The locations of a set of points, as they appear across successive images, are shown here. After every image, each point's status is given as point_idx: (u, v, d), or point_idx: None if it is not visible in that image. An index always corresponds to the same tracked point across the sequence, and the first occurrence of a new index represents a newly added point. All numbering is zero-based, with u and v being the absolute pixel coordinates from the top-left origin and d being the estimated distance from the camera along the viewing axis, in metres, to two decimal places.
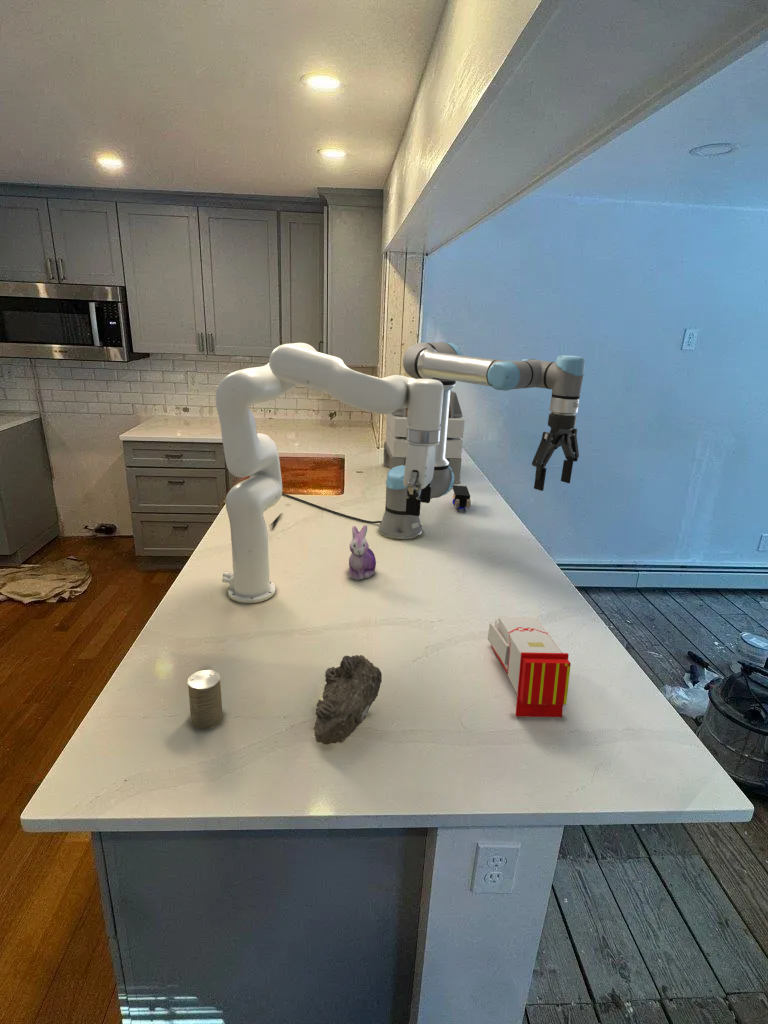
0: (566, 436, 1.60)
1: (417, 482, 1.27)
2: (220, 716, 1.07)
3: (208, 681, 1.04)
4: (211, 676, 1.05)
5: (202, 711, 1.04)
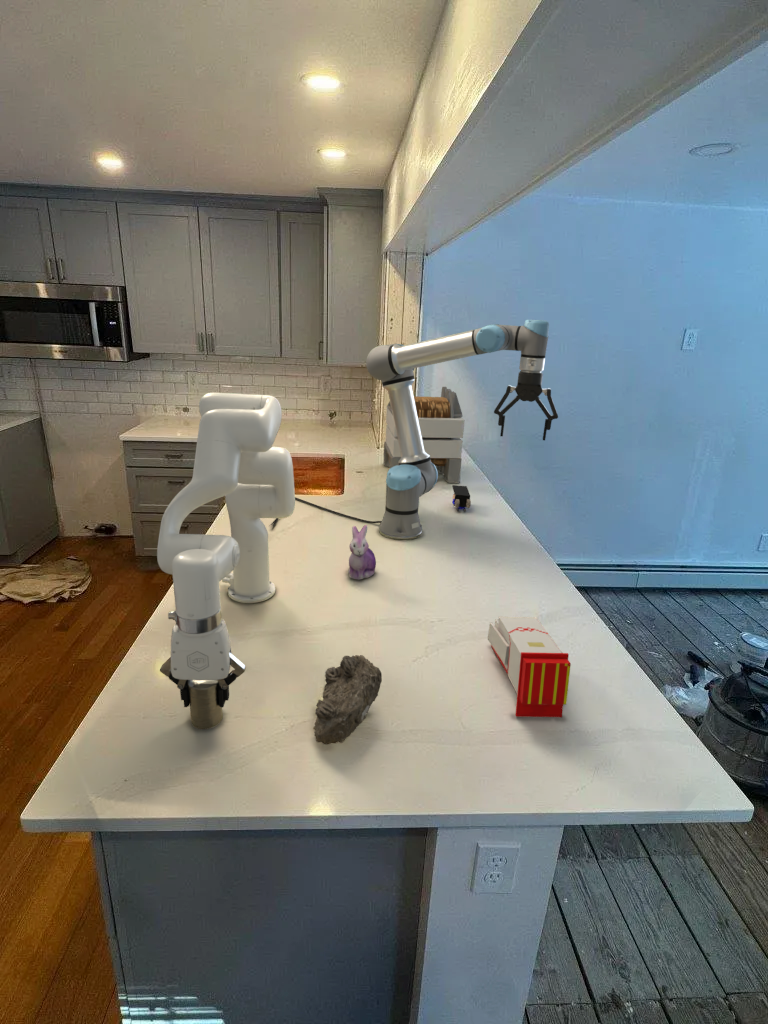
0: (530, 392, 1.79)
1: None
2: (220, 716, 1.07)
3: (208, 681, 1.04)
4: None
5: (202, 711, 1.04)
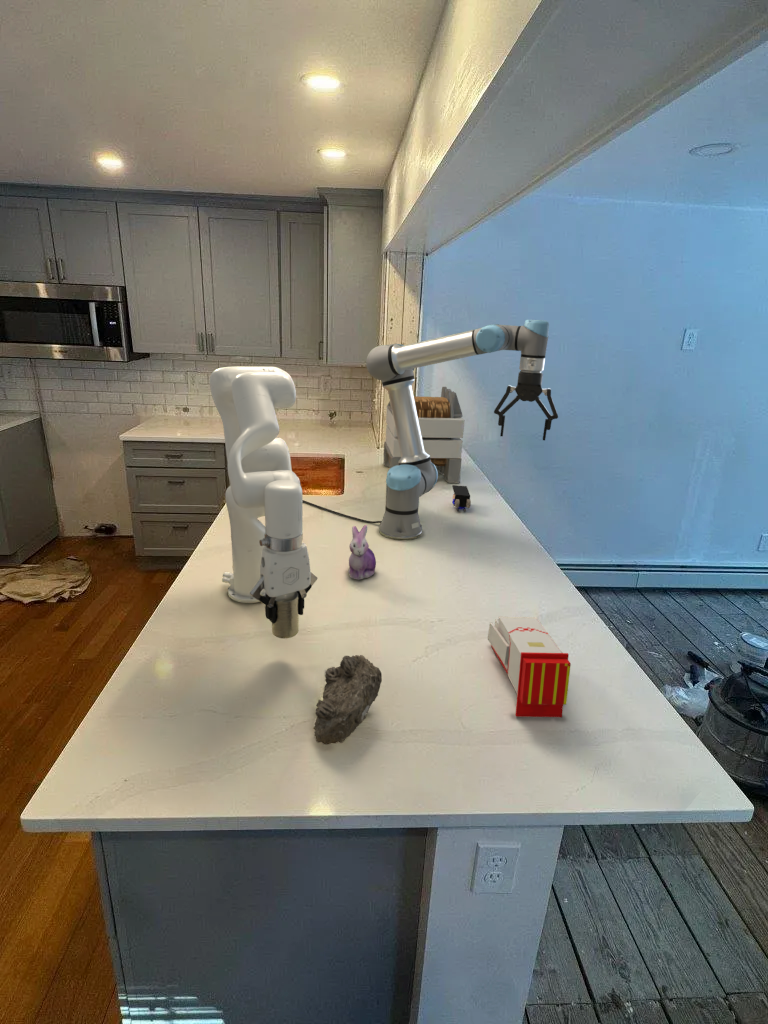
0: (530, 392, 1.79)
1: None
2: None
3: (290, 595, 1.21)
4: None
5: (291, 621, 1.21)
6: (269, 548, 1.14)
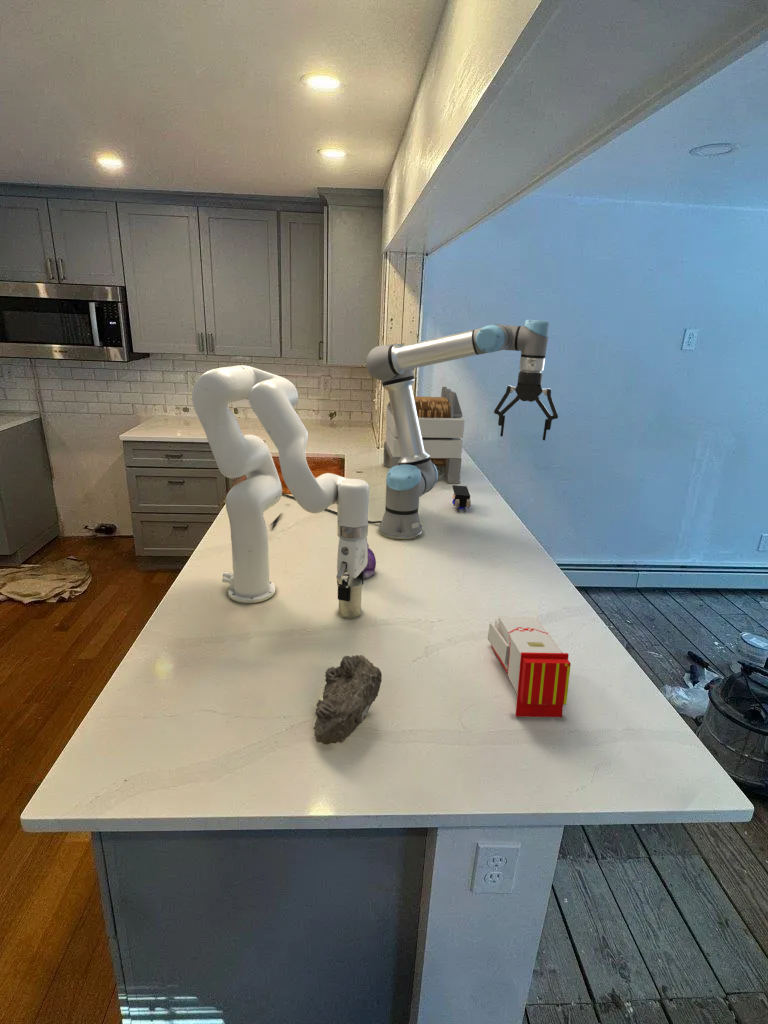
0: (530, 392, 1.79)
1: None
2: None
3: (354, 580, 1.45)
4: None
5: (360, 600, 1.45)
6: (350, 537, 1.36)
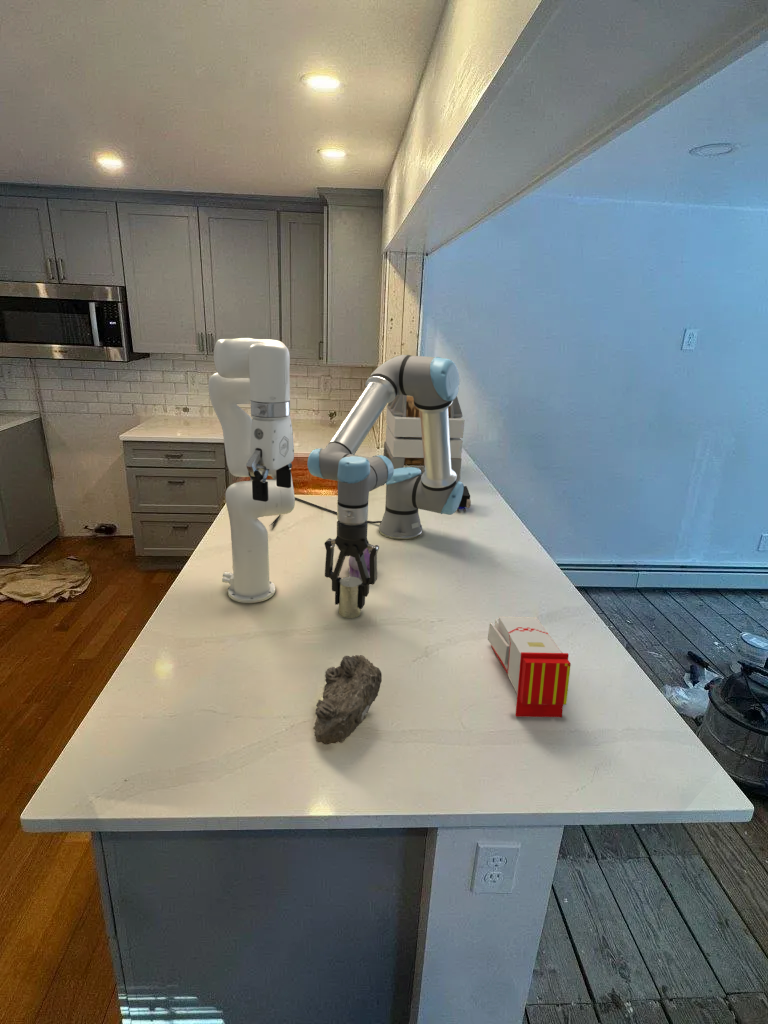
0: (352, 546, 1.39)
1: None
2: None
3: (354, 580, 1.45)
4: (349, 579, 1.45)
5: None
6: (265, 416, 1.07)
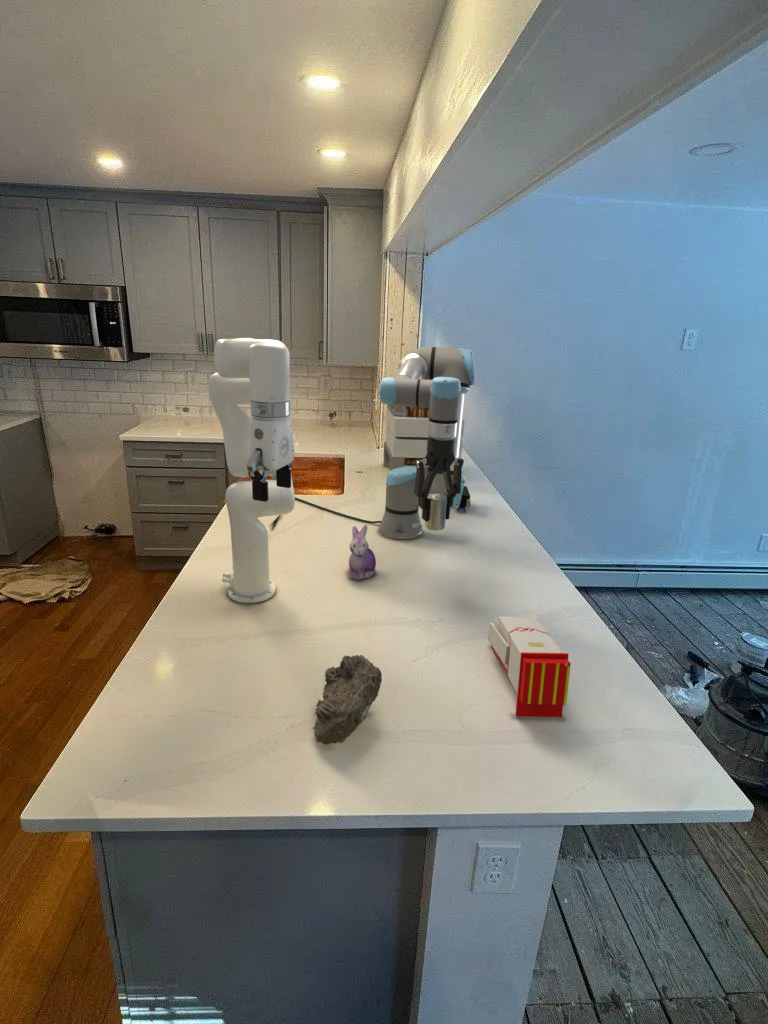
0: (445, 461, 1.51)
1: None
2: None
3: (438, 495, 1.57)
4: (432, 495, 1.57)
5: None
6: (265, 416, 1.07)
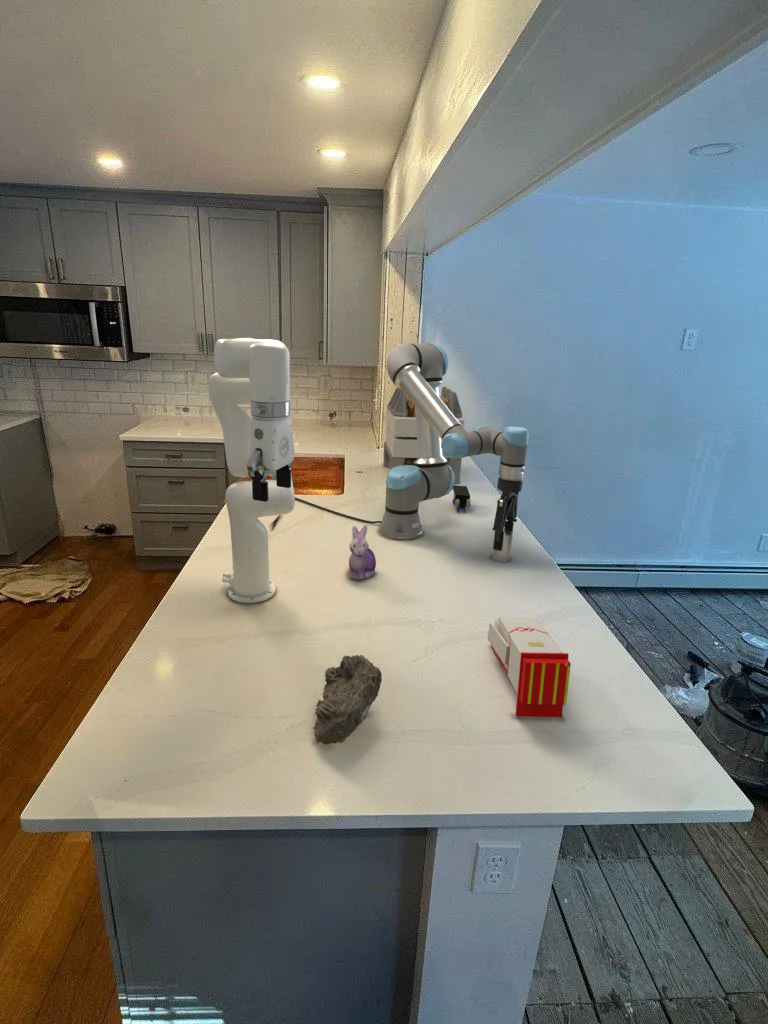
0: (514, 497, 1.77)
1: None
2: None
3: None
4: None
5: None
6: (265, 416, 1.07)
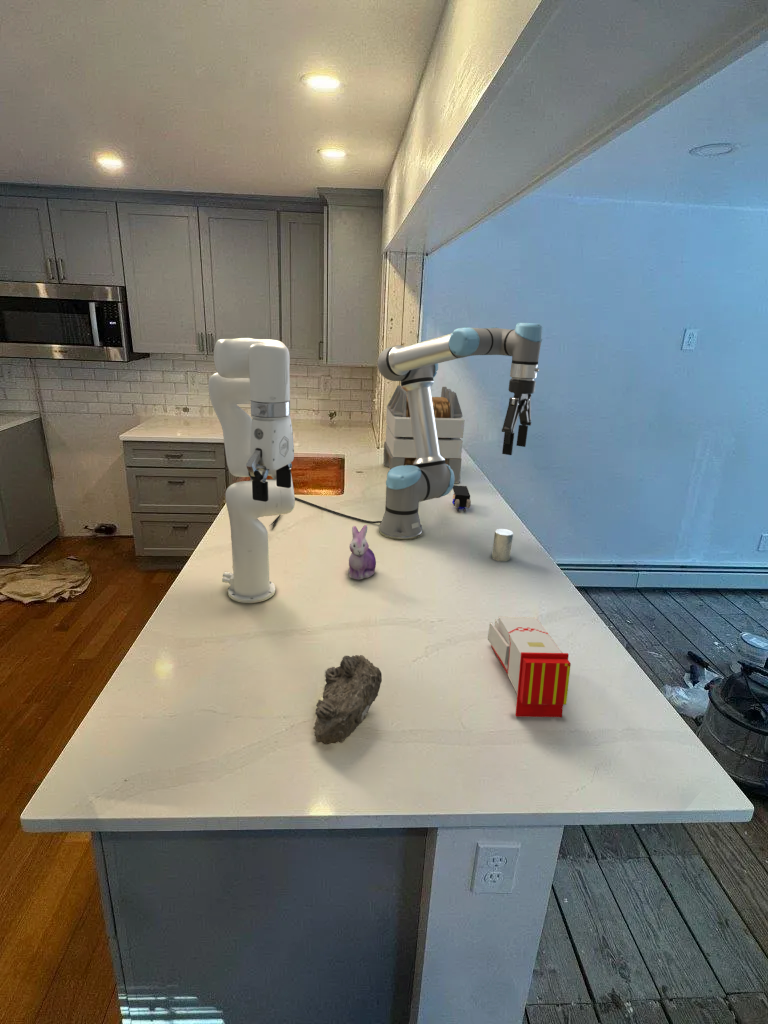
0: (526, 401, 1.67)
1: None
2: None
3: (502, 530, 1.82)
4: (499, 531, 1.81)
5: None
6: (265, 416, 1.07)
